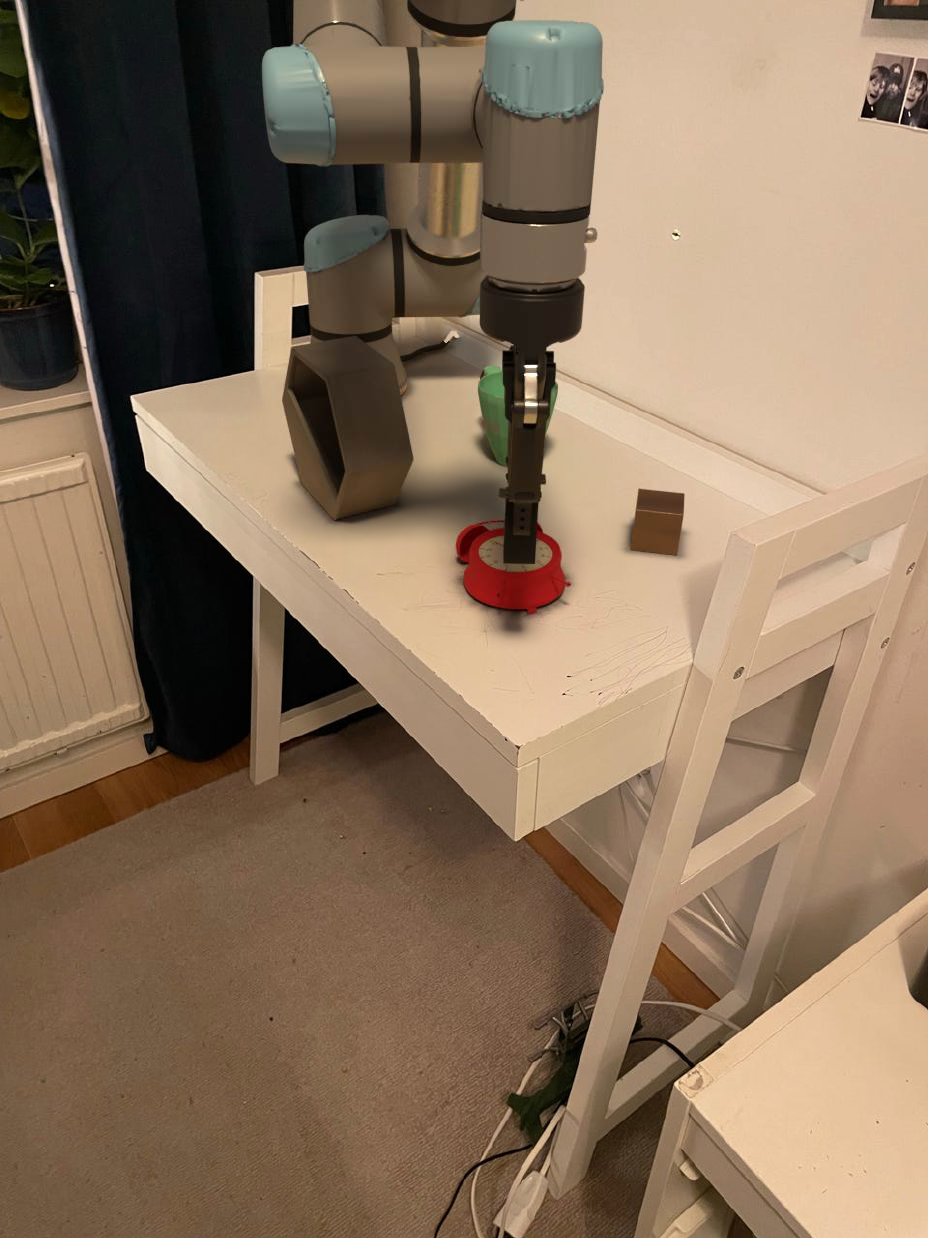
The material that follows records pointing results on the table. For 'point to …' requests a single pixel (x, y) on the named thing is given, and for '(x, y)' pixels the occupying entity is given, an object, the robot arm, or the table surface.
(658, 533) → the walnut block
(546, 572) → the alarm clock
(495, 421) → the mug
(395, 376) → the hexagonal wooden shelf
